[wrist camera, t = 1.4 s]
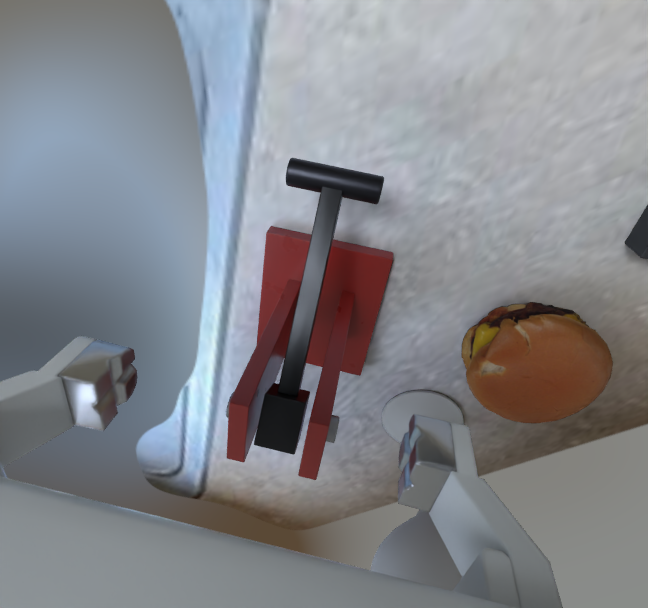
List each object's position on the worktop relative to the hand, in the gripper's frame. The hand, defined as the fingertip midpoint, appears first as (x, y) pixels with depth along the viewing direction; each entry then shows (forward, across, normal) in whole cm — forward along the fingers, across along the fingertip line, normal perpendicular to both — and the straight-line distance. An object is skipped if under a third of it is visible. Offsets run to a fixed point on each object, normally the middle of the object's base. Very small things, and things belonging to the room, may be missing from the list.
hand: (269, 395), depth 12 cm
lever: (+11, 0, +4) cm, 12 cm away
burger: (+19, -16, +9) cm, 26 cm away
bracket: (+19, 0, +9) cm, 21 cm away
